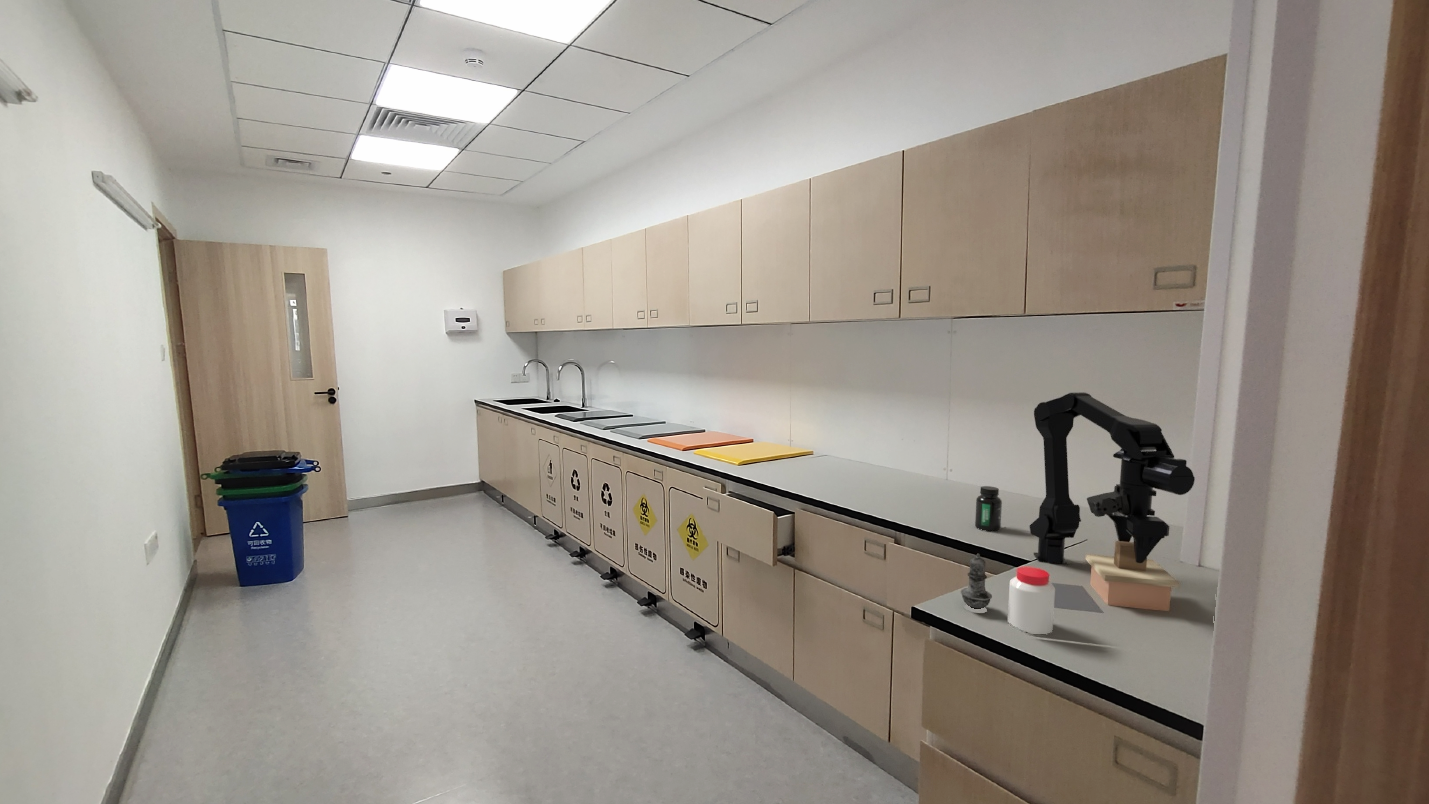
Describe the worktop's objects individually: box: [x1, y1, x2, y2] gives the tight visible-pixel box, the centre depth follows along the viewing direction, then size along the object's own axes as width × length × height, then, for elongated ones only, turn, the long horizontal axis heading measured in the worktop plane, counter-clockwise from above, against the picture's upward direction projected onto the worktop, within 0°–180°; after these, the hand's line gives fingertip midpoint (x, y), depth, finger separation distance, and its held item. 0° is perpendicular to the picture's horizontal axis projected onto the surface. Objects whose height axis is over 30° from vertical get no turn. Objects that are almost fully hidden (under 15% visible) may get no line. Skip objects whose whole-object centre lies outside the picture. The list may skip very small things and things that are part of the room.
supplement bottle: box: [974, 485, 1003, 532], centre depth 179 cm, size 7×7×12 cm
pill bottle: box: [1007, 566, 1055, 635], centre depth 117 cm, size 8×8×11 cm
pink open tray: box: [1090, 566, 1172, 612], centre depth 131 cm, size 11×11×6 cm
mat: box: [1050, 582, 1104, 614], centre depth 132 cm, size 14×14×1 cm
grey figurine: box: [960, 553, 993, 609], centre depth 125 cm, size 6×6×12 cm
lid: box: [1085, 540, 1180, 589], centre depth 130 cm, size 13×13×6 cm
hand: (1130, 555), depth 130 cm, fingers open, 9 cm apart
